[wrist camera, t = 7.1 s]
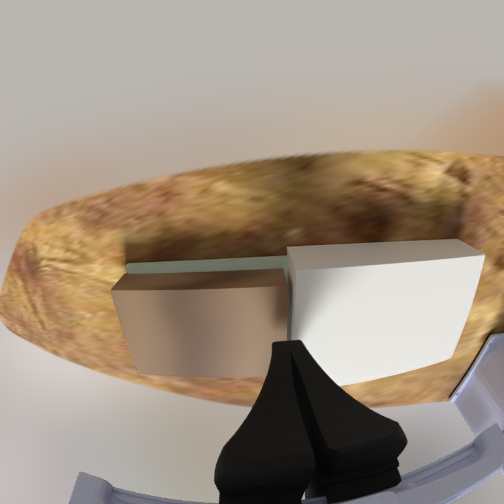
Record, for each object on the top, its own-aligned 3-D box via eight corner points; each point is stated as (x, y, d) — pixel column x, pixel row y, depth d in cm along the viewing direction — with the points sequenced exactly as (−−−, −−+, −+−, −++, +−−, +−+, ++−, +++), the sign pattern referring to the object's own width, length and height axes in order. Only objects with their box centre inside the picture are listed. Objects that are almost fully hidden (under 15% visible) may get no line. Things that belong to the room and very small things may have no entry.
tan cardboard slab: (283, 268, 15) (288, 285, 13) (281, 352, 17) (285, 374, 15) (124, 273, 15) (110, 290, 13) (146, 353, 17) (138, 373, 15)
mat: (286, 255, 15) (287, 257, 15) (285, 354, 17) (285, 357, 17) (127, 263, 15) (125, 265, 14) (153, 355, 17) (152, 358, 17)
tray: (457, 238, 15) (485, 254, 12) (432, 335, 18) (450, 358, 15) (286, 246, 15) (296, 270, 12) (285, 359, 17) (290, 392, 15)
